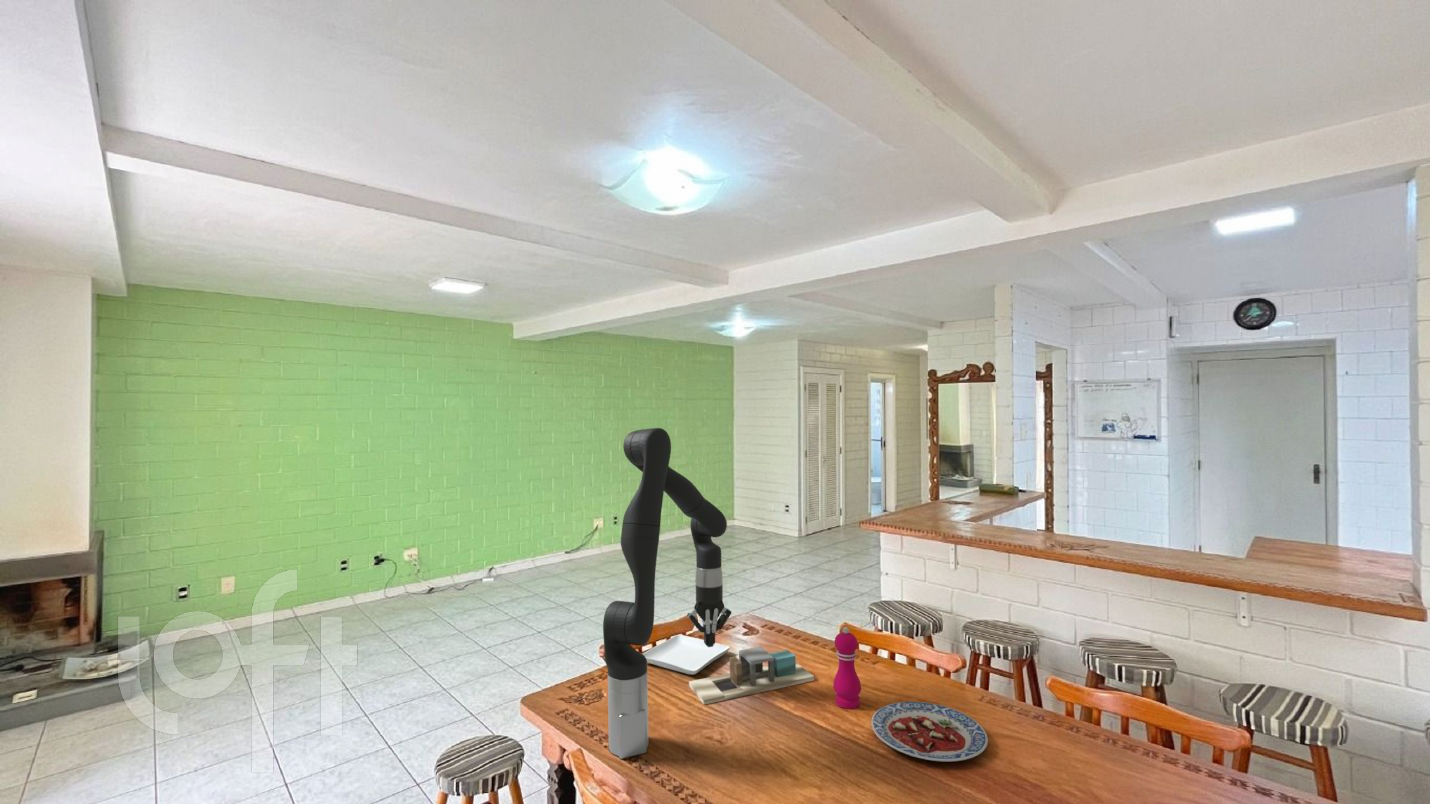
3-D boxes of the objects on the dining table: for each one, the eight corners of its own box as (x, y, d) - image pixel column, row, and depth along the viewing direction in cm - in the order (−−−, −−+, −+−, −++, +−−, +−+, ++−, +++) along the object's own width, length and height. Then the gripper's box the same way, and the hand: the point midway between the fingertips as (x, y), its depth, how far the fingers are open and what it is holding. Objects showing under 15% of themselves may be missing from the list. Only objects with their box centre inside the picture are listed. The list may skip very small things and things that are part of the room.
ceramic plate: (912, 780, 122) (912, 765, 122) (852, 719, 147) (851, 707, 147) (1014, 758, 129) (1013, 744, 129) (940, 703, 154) (939, 692, 154)
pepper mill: (859, 697, 158) (857, 622, 158) (863, 710, 151) (861, 632, 151) (832, 696, 158) (830, 622, 159) (835, 709, 151) (833, 632, 152)
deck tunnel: (814, 680, 168) (813, 652, 168) (703, 704, 155) (703, 674, 156) (793, 664, 179) (792, 638, 179) (689, 685, 166) (688, 657, 167)
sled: (795, 673, 170) (795, 652, 170) (736, 685, 163) (736, 663, 163) (787, 666, 174) (787, 646, 175) (730, 678, 167) (729, 657, 168)
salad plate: (732, 655, 188) (731, 644, 188) (695, 682, 170) (695, 670, 170) (678, 643, 199) (678, 633, 199) (638, 666, 181) (638, 655, 181)
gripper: (690, 588, 157) (691, 654, 156) (736, 583, 162) (736, 647, 161) (682, 582, 164) (682, 644, 163) (725, 577, 169) (726, 638, 168)
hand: (709, 646), depth 162 cm, fingers closed
